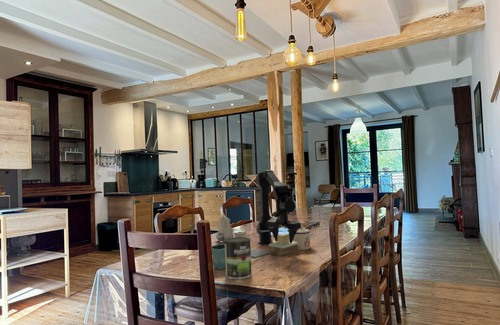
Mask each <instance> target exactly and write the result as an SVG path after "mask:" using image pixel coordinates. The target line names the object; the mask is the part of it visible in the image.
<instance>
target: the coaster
mask: <svg viewBox="0 0 500 325" xmlns="http://www.w3.org/2000/svg"><path fill="white" fill-rule="evenodd" d="M250 250H251V259H252V258H253V259H257V258H261V257H264V256H268V255H271V254H270V250H265V249H257V248H253V249H250Z"/></svg>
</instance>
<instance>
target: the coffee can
mask: <svg viewBox="0 0 500 325" xmlns="http://www.w3.org/2000/svg"><path fill="white" fill-rule="evenodd" d="M223 243H224V244H225V260H226V268H225V277H226V278H227V279H230V280H243V279H248V278H250V277H251V276H252V275H253V274H252V257H251V250H252V249H251V238H249V237H247V236H246V237H235V236H234V237H233V238H228V239H225V240H224V242H223Z"/></svg>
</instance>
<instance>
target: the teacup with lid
mask: <svg viewBox="0 0 500 325" xmlns="http://www.w3.org/2000/svg"><path fill="white" fill-rule="evenodd" d="M310 231H311V230H310V229H308V228H306V227H303V225H301V228H300V229H299V230H297V232H296V234H295V236H294V239H293V242H298V251H304V250H305V251H307V250H310V249H311V238H310V237H311V236H310V234H311V232H310Z"/></svg>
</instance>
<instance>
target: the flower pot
mask: <svg viewBox="0 0 500 325" xmlns="http://www.w3.org/2000/svg"><path fill="white" fill-rule="evenodd" d="M211 246H212V255H213V265H214V269H218V270H222V269H226V260H225V243H224V244H223V243H220V244H214V245H211Z"/></svg>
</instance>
